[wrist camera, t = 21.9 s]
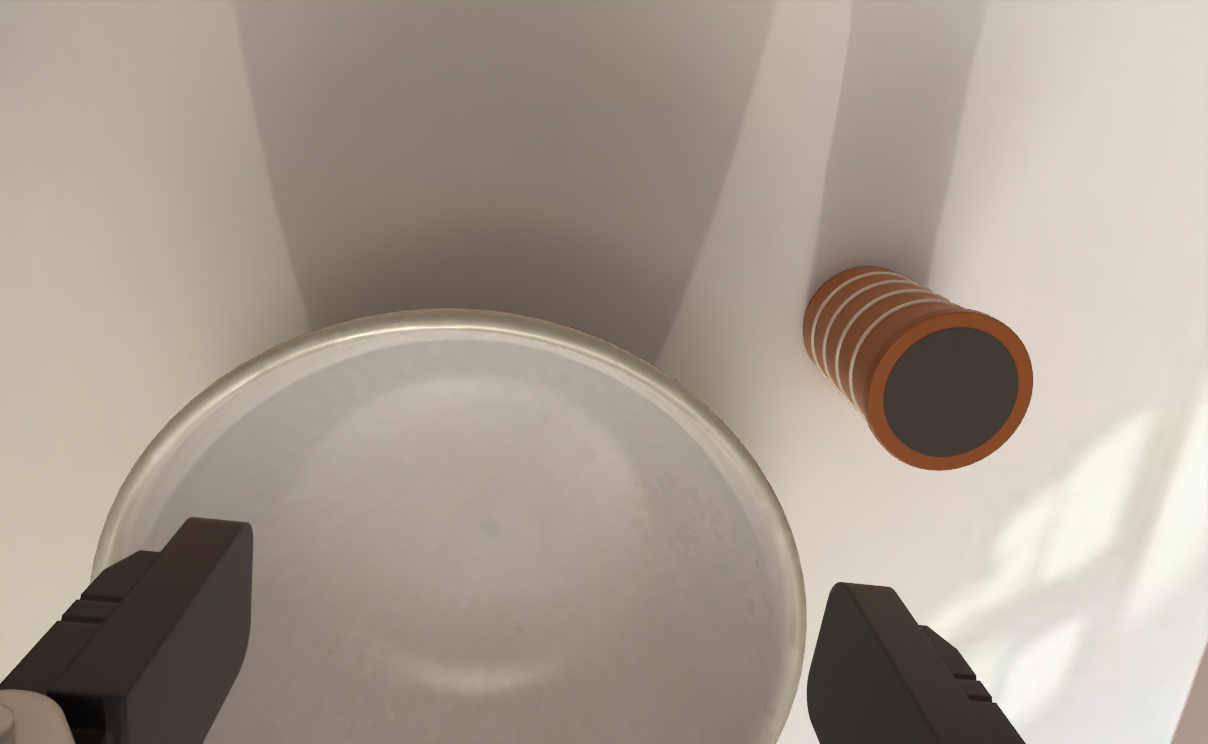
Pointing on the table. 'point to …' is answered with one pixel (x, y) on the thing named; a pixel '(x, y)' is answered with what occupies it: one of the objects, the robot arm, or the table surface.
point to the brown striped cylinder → (919, 367)
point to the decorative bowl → (481, 541)
